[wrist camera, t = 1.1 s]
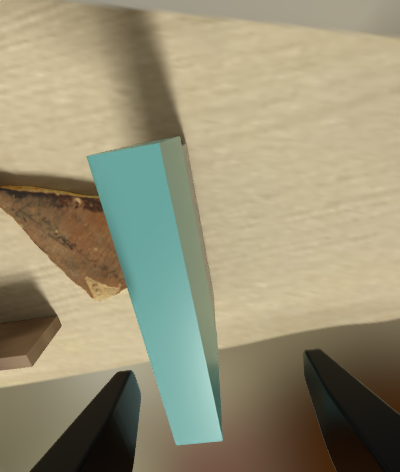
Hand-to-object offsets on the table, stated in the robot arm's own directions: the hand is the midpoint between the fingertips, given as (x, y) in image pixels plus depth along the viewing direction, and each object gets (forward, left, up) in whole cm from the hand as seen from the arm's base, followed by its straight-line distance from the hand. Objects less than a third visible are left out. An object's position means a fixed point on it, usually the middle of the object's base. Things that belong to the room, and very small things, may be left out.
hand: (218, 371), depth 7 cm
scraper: (+2, 0, -12) cm, 12 cm away
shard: (+9, 0, -13) cm, 16 cm away
